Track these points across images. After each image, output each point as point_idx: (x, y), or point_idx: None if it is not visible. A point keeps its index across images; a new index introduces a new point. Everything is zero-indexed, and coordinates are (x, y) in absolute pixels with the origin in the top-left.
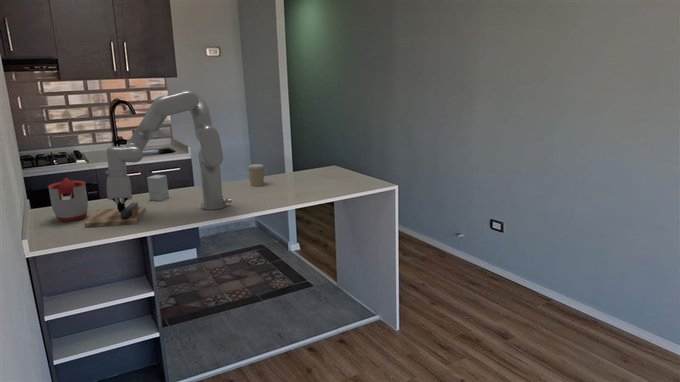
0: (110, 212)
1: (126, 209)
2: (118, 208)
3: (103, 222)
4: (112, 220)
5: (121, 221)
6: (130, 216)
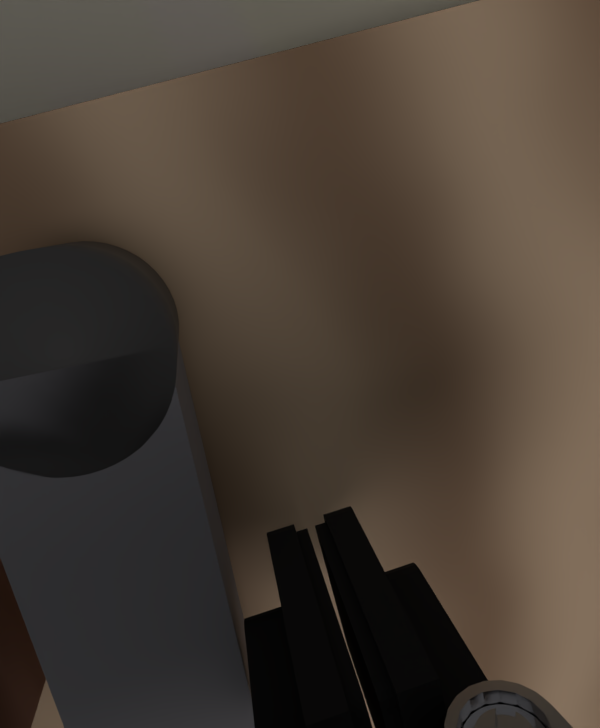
0: (596, 625)
1: (128, 591)
2: (399, 589)
3: (467, 5)
4: (320, 148)
5: (60, 113)
6: None
